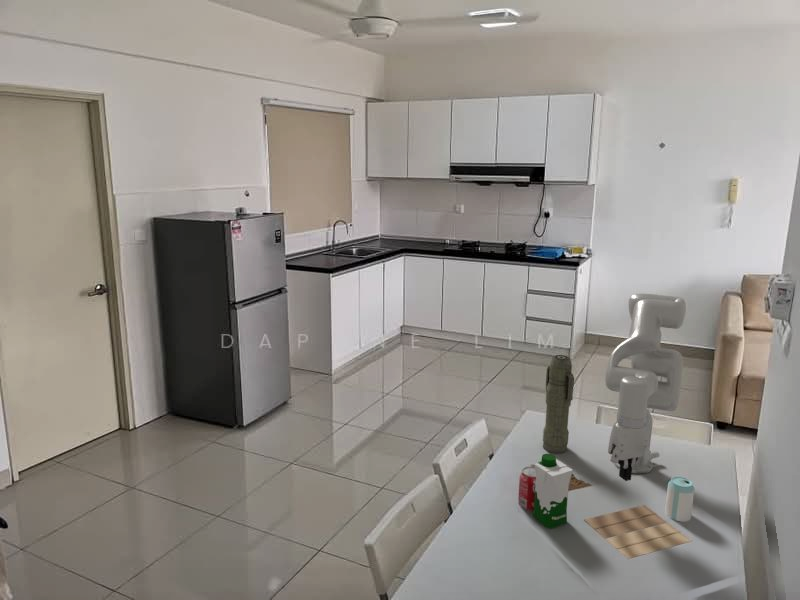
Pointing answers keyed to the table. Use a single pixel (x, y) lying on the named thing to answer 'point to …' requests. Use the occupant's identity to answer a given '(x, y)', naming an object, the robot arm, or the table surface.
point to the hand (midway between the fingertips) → (624, 478)
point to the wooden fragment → (575, 483)
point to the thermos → (558, 404)
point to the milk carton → (551, 491)
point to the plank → (624, 521)
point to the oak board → (648, 540)
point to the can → (679, 499)
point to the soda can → (527, 488)
